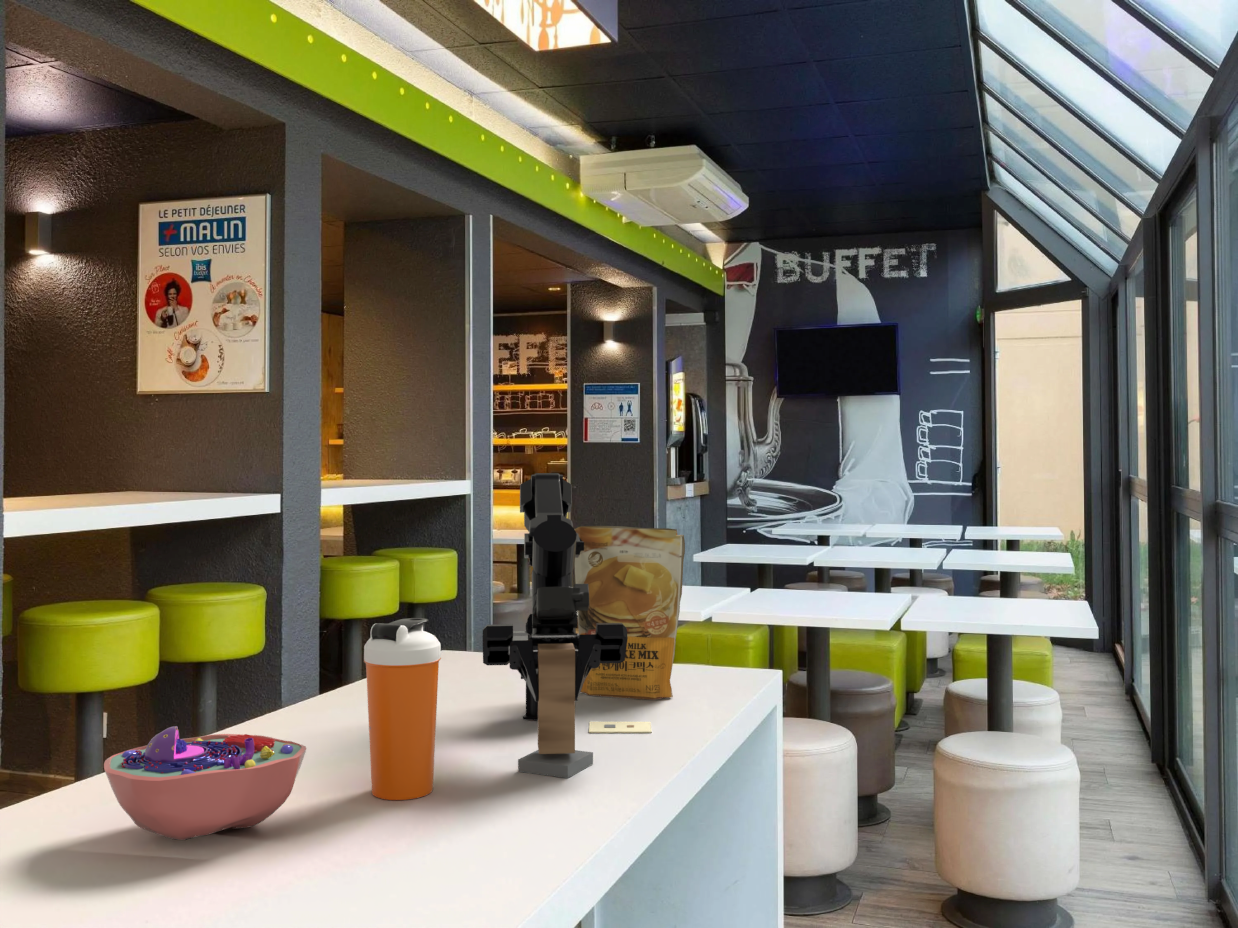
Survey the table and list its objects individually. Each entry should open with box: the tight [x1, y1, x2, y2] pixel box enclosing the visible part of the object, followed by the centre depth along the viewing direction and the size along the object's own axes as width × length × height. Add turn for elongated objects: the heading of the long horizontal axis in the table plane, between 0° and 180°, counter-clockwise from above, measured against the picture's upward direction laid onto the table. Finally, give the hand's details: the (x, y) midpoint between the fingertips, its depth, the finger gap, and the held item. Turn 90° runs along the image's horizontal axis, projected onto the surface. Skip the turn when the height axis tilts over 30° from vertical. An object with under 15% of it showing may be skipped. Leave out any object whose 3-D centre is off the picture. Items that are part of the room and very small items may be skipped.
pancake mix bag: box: [574, 525, 686, 701], centre depth 184 cm, size 7×19×28 cm, turn 74°
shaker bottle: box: [363, 617, 442, 801], centre depth 130 cm, size 9×9×20 cm
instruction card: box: [588, 721, 652, 734], centre depth 161 cm, size 9×6×1 cm, turn 90°
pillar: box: [537, 643, 576, 754], centre depth 140 cm, size 4×4×13 cm
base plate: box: [517, 749, 594, 779], centre depth 140 cm, size 7×7×2 cm
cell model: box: [103, 725, 307, 841], centre depth 116 cm, size 17×20×11 cm
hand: (556, 699), depth 139 cm, fingers closed on pillar, 4 cm apart
